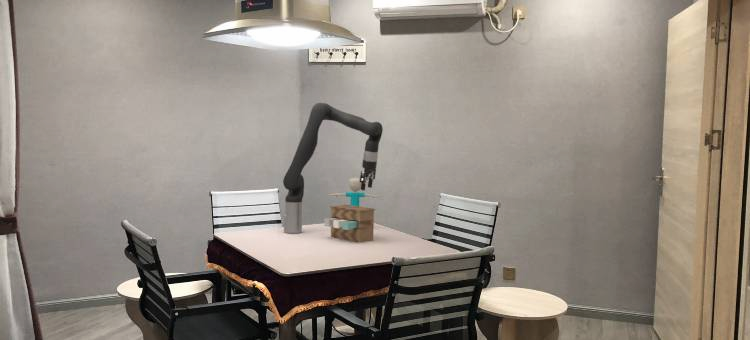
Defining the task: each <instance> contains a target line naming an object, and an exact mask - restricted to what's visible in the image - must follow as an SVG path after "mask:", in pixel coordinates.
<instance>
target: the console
mask: <svg viewBox="0 0 750 340" xmlns="http://www.w3.org/2000/svg"><path fill="white" fill-rule="evenodd" d="M329 207H330V219H331V218H339V220H344V219H348V222H350V221H358V228H353V229H349V230H344V229H343V227H340V228H334V227H333V225H332V226H330V238H334V239H338V240H343V239H344V241H348V240H349V242H353V241H354V242H353V243H358V242H359V244H360V243H361V242H362V243H366V242H367V241H368V242H373V241H374V228H375V226H374V222H375V221H374V219H375V217H374V216H375V215H374V214H375V211H376V208H372V207H371V208H370V207H365V206H360V205H359V206H352V205H350V204H337V205H329ZM368 242H367V243H368Z"/></svg>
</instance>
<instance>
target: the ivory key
mask: <svg viewBox="0 0 750 340" xmlns="http://www.w3.org/2000/svg"><path fill="white" fill-rule="evenodd" d="M343 222H348V219H344V220H333V227H334V228H340V227H343Z"/></svg>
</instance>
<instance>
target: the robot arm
mask: <svg viewBox="0 0 750 340" xmlns="http://www.w3.org/2000/svg"><path fill="white" fill-rule="evenodd" d="M323 121H332V122H333V121H334V122H337V123H339V124H341V125H343V126H345V127H347V128H350V129H352V130H356V131H359V132H360V133H363V134H364V135H366V136H368V138H367V140H366V141H365V144H364V146H365V147H364V152H363V157H362V163H361V167H362V168H363V171H360V176H359V179H360V182H361V189H360V191H366V187H367V188H369V189H371V188H373V182H374V180H375V179H376V173H377V166H378V164H377V163H378V155H379V154H378V153H379V143H380V141H381V139H382V135H383V125H382V123H381V122H379V121H373V122H370V121H368V120H366V119H365V118H363V117H360V116H358V115H355V114H351V113H348V112H344V111H342V110H339V109H337V108H335V107H333V106H331V104H328V103H326V102H317V103H315V104H314V105H313V106H312V107H311V110H310V113H309V117H308V121H307V124H306V127H305V129H304V131H303V133H302V136H301V138H300V141H299V142H298V146H297V148H296V150H295V154H294V155H293V159H292V161H291V163H290V165H289V168H288V170H287V171H286V172H285V174H284V177H283V180H282V183H283V187H284V188H285V189H286V190H288V192H287V195H285V199H284V201H285V209H284V211H285V212H284V214H285V215H283V233H286V234H300V233H302V232H303V197H304V193H305V191H304V190H305V180H304V179H305V178H304V176H303V175H302V172H303V169H304V167H306V165H307V163H308V162H309V161H310V160H311V159H312V157H313V156H314V153H315V150H316V148H317V145H318V141H319V140H318V139H319V129H320V127H321V125H322V123H323ZM366 183H367V184H366ZM366 185H367V186H366Z"/></svg>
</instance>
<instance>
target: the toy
mask: <svg viewBox="0 0 750 340" xmlns="http://www.w3.org/2000/svg"><path fill="white" fill-rule="evenodd" d="M348 185H349V189H350V191H351V192H349V191H347V192H346V191H345V192H341V193H340V192H339V193H337V192H336V193H329V194H328V196H329V197H330V196H331V197H336V198H338V196H339V197H345V198H347V197H348V198H349V197H350V203H349V205H352V206H359V207H360V198H368V197H371V198H373V199H375V198H380V197H382V196H381V195H379V194H378V195H377V194H374V193H373V194H370V193H365V192H358V191H361V182H360V177H359V178H358V177H352V178H350V179H349V181H348Z"/></svg>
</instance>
